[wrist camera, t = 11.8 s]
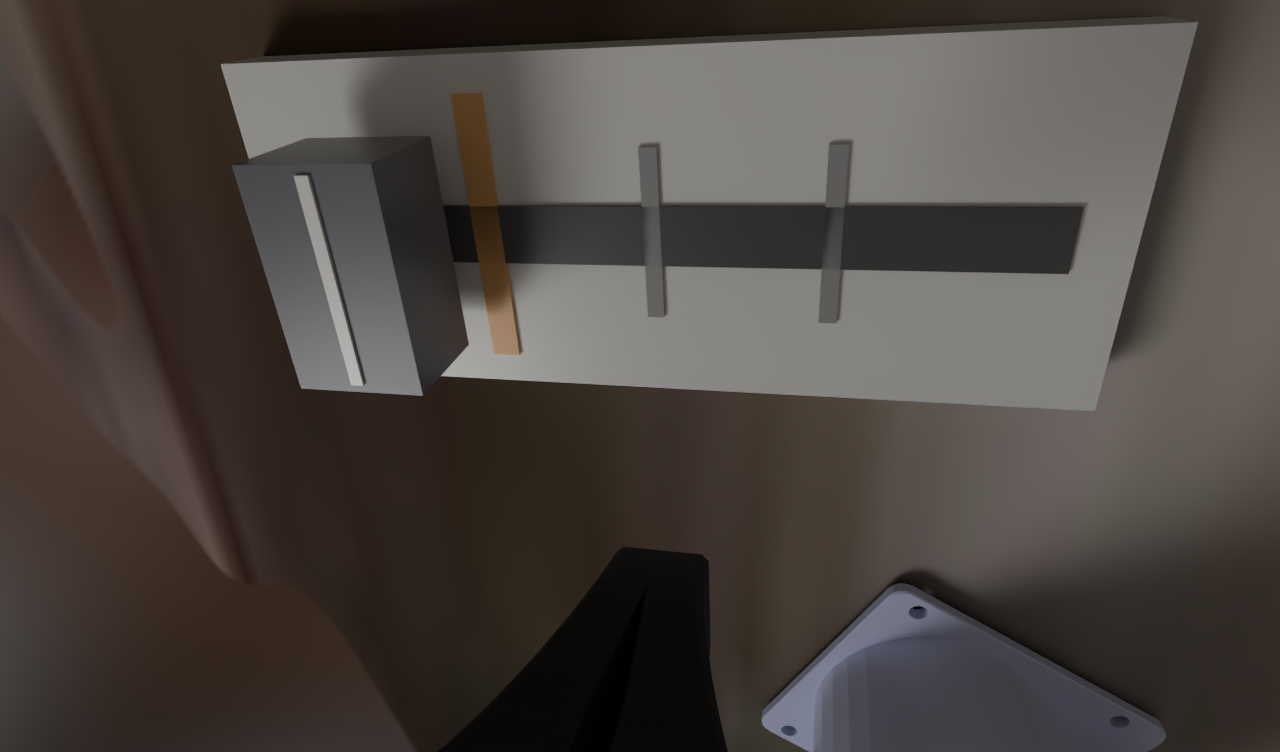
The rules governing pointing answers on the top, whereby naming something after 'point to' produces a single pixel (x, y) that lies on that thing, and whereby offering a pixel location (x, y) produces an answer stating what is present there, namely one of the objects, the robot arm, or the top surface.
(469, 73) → the fader board
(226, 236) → the top surface
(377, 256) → the fader knob
